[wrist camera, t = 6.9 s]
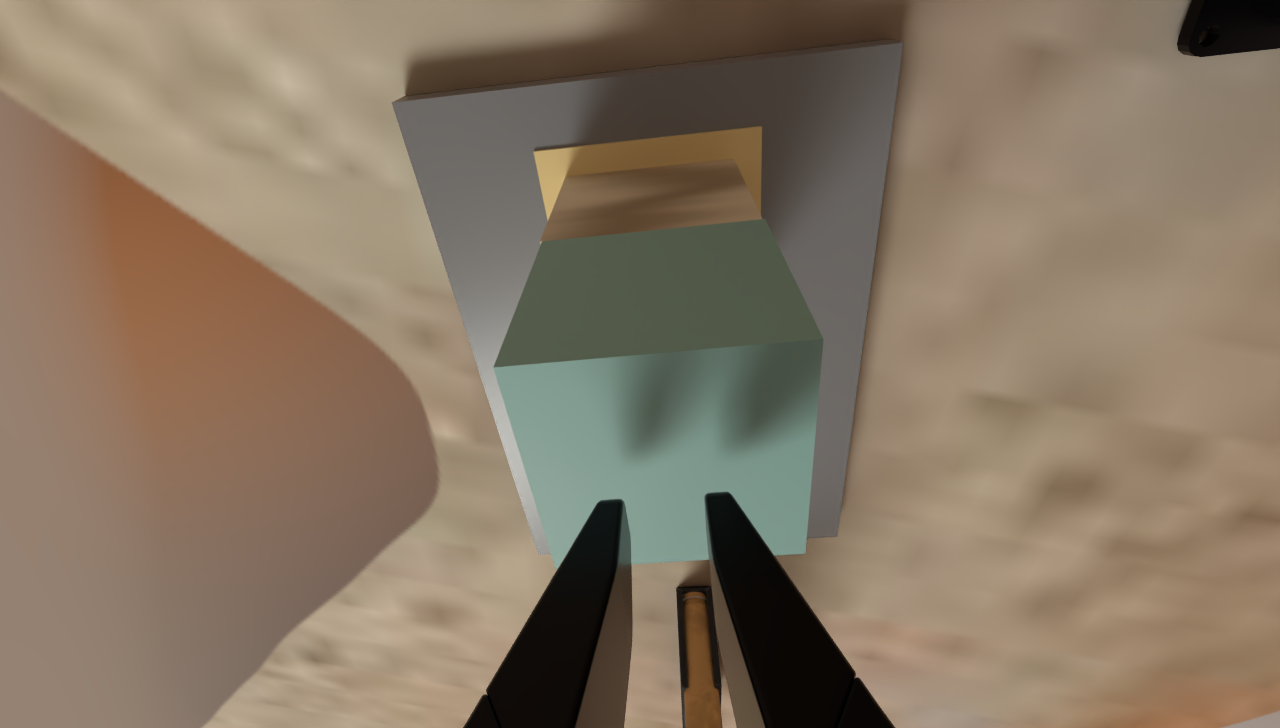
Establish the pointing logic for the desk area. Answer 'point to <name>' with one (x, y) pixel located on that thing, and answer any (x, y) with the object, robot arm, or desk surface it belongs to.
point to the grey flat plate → (662, 136)
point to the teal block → (665, 386)
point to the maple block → (650, 200)
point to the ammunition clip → (698, 659)
